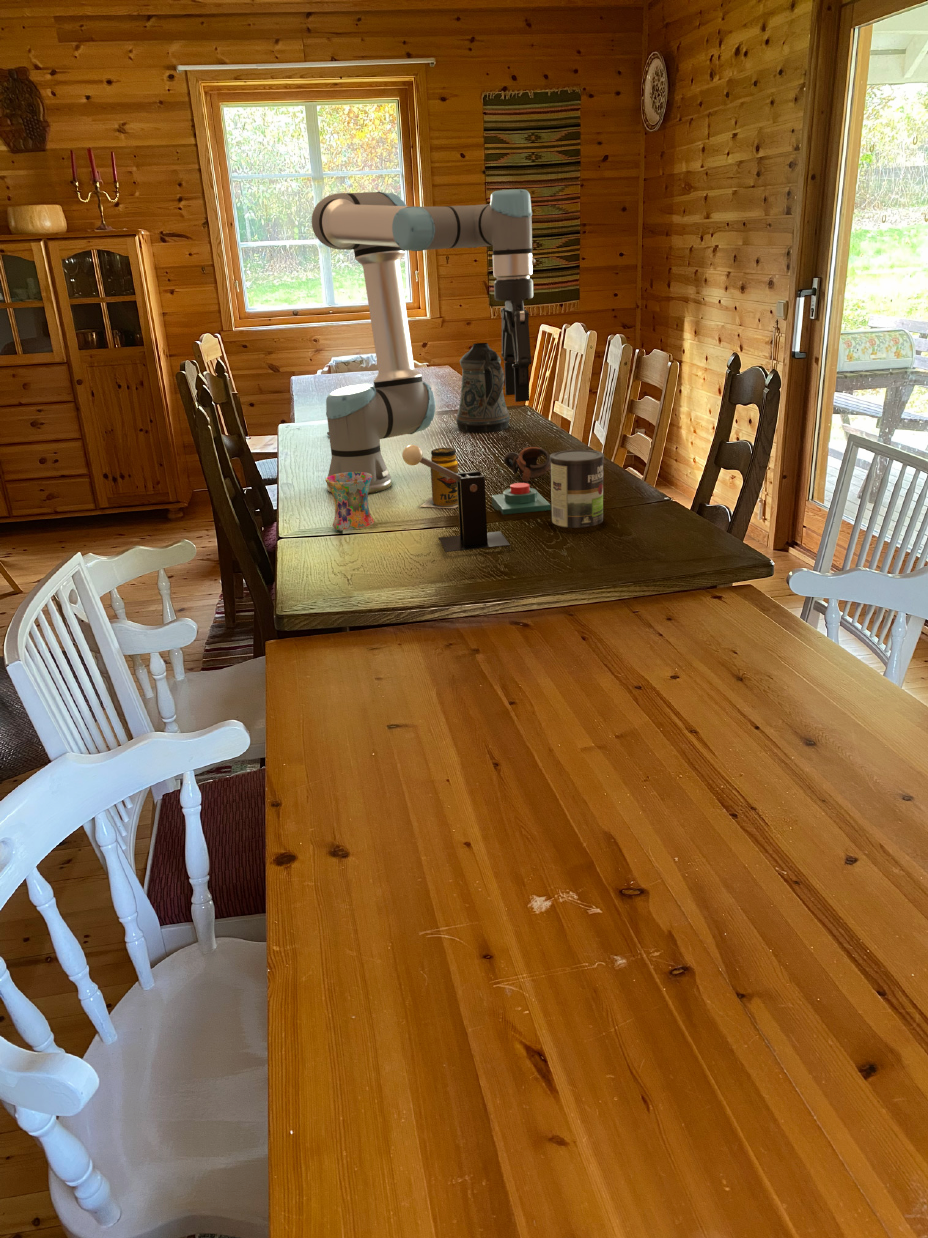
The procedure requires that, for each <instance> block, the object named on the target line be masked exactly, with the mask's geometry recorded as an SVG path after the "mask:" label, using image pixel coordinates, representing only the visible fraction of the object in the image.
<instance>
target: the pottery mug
mask: <svg viewBox="0 0 928 1238" xmlns="http://www.w3.org/2000/svg"><path fill="white" fill-rule="evenodd" d="M542 455H543V456H544V457H545V458H546V459H545V461H544V462H543V463H541V464H540V463H538V462H537V461H538V458H540V457H542ZM503 461H504V463H505V465H506V466H507V468H508V469H510V470H511V471H512V473H513V474H514V475H517V474H518V472H519V476H521V480H522V481H523V482H524V483H528V482H529V481H530V480H531V479H534V478H538V477H541V476H543V475H546V474H547V473H548V472H550V470H551V460H550V454H549V452H548V451H547V450H545V449H544V448H542V447H538V446H528V447H525V448H523V449H522V450H521V451H520V452H519V453H517V452H515V451H509V452H506V453H505V455H504V458H503Z"/></svg>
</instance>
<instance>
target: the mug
mask: <svg viewBox="0 0 928 1238" xmlns="http://www.w3.org/2000/svg"><path fill="white" fill-rule="evenodd" d="M371 478H372V475H371V474H369V473H365V472H345V473H339V474H334V475H331V476H329V477H328V476H327V477H326V478H325V479H324V481H325V482H326V485H327V484H328V486H329V488H330V490H331V492H330V493H331V496H332V499H333V502H334V519H333V523H332V528H333V529H335V530H336V531H339V532H343V530H355V529H356V530H357V529H362V528H367V527H369V526H371V525H373V524H374V523H375V520H374V518H373V517H372V515H371V512H370V508H369V493H368V490H369V485H370V481H371Z"/></svg>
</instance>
